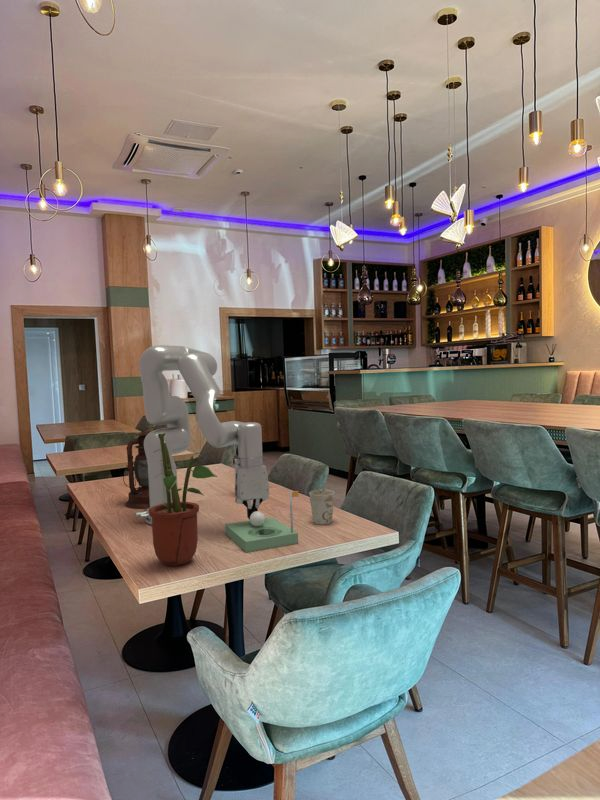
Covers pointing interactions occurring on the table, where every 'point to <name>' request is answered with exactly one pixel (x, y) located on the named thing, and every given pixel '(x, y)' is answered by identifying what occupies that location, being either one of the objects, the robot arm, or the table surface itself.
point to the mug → (322, 506)
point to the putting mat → (263, 533)
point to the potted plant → (176, 515)
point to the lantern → (138, 474)
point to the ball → (257, 518)
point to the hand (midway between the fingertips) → (252, 520)
